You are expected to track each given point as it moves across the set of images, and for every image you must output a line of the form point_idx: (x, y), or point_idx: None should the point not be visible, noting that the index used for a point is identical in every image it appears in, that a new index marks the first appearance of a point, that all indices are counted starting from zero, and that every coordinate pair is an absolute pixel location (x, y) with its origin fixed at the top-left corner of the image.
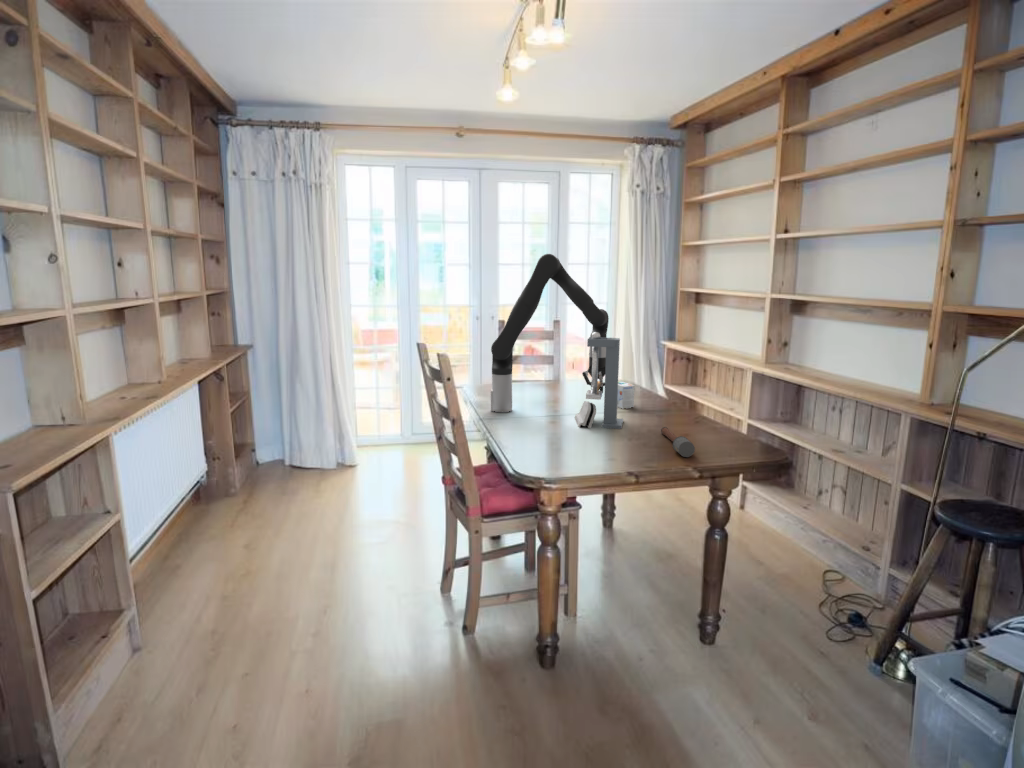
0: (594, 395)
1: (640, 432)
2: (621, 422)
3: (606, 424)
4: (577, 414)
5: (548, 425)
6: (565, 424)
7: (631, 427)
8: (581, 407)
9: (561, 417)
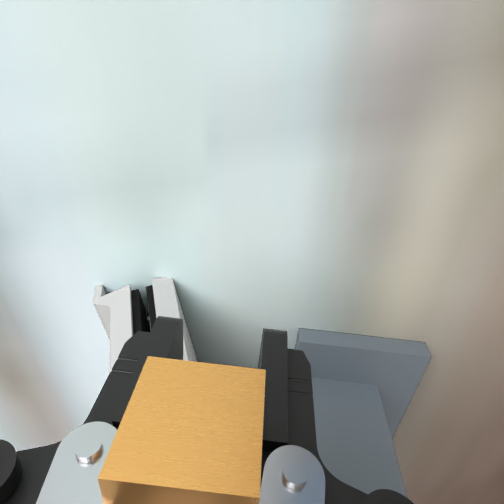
0: None
1: (455, 483)
2: (396, 420)
3: None
4: (107, 324)
5: (12, 419)
6: (86, 403)
7: (439, 430)
8: (111, 348)
9: (8, 285)
